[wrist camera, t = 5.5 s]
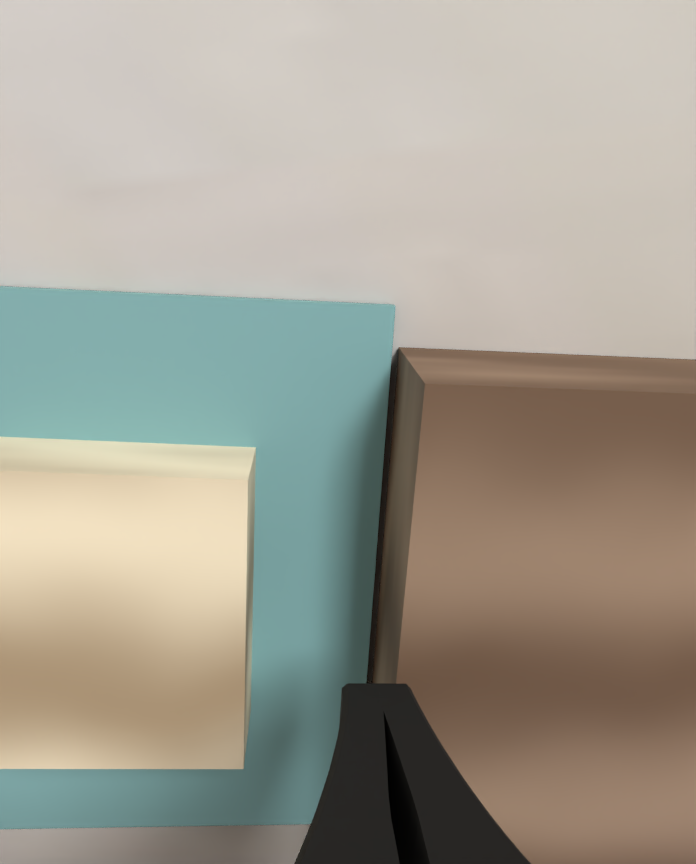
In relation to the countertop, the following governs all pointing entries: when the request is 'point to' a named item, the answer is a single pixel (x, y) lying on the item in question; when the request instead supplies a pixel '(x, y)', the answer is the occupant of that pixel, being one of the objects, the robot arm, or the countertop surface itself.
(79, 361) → the mat
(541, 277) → the countertop surface
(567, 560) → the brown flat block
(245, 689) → the maple block
